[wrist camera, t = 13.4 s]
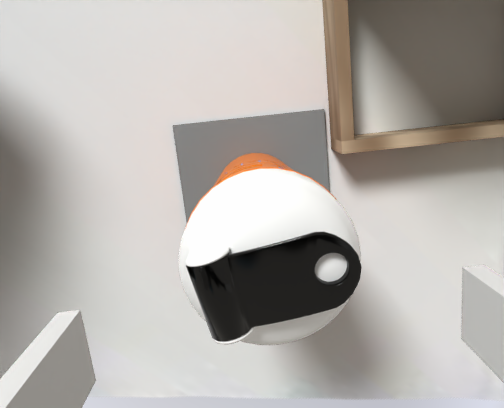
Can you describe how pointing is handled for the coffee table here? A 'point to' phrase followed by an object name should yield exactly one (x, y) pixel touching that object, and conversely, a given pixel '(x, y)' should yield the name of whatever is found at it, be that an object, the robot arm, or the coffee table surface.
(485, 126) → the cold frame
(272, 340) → the shaker bottle
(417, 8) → the coffee table surface
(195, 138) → the slate coaster
